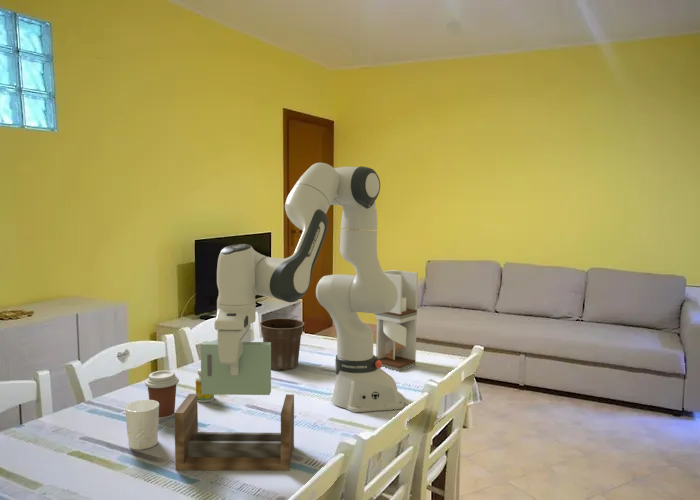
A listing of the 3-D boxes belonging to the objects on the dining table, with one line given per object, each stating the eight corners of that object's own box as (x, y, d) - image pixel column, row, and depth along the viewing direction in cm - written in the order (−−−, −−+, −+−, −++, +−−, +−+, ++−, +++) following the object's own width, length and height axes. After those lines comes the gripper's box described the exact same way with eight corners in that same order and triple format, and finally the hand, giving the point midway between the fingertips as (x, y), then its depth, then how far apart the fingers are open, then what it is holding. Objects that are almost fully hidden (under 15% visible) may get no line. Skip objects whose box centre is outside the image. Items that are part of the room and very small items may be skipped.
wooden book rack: (293, 446, 136) (294, 394, 135) (289, 470, 124) (289, 413, 123) (190, 445, 136) (189, 393, 135) (175, 469, 124) (174, 412, 123)
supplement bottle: (210, 395, 170) (210, 365, 169) (216, 400, 166) (216, 370, 165) (193, 398, 167) (193, 368, 166) (199, 404, 163) (198, 373, 162)
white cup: (132, 437, 140) (131, 399, 139) (163, 436, 141) (162, 399, 140) (122, 451, 132) (120, 412, 131) (155, 450, 133) (154, 411, 132)
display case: (374, 364, 203) (375, 272, 200) (391, 358, 211) (393, 269, 208) (398, 371, 196) (400, 275, 192) (415, 365, 204) (417, 272, 200)
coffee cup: (141, 413, 156) (140, 372, 154) (173, 406, 161) (172, 367, 160) (151, 424, 148) (150, 381, 147) (184, 416, 154) (183, 375, 152)
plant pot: (312, 363, 204) (313, 321, 202) (286, 375, 190) (286, 330, 188) (278, 356, 212) (278, 316, 210) (250, 367, 198) (250, 324, 197)
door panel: (270, 391, 130) (271, 342, 129) (269, 395, 127) (269, 345, 126) (203, 390, 130) (203, 341, 129) (200, 394, 127) (200, 344, 126)
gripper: (231, 305, 137) (232, 358, 138) (212, 323, 117) (213, 386, 118) (256, 305, 137) (256, 358, 139) (242, 324, 117) (242, 386, 118)
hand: (236, 371), depth 128 cm, fingers closed on door panel, 2 cm apart
